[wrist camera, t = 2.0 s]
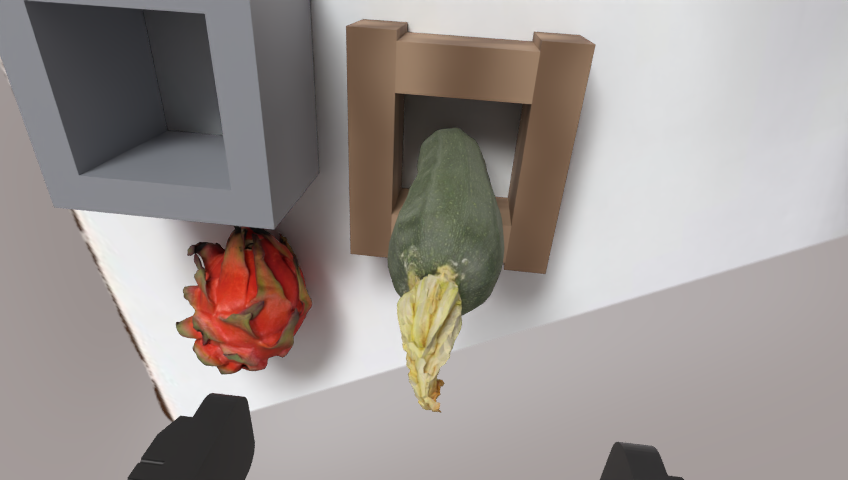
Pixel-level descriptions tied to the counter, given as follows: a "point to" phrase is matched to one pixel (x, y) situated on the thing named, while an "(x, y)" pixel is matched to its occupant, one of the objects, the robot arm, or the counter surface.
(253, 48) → the holder
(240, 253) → the dragon fruit
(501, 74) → the board
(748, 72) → the counter surface
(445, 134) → the vegetable
